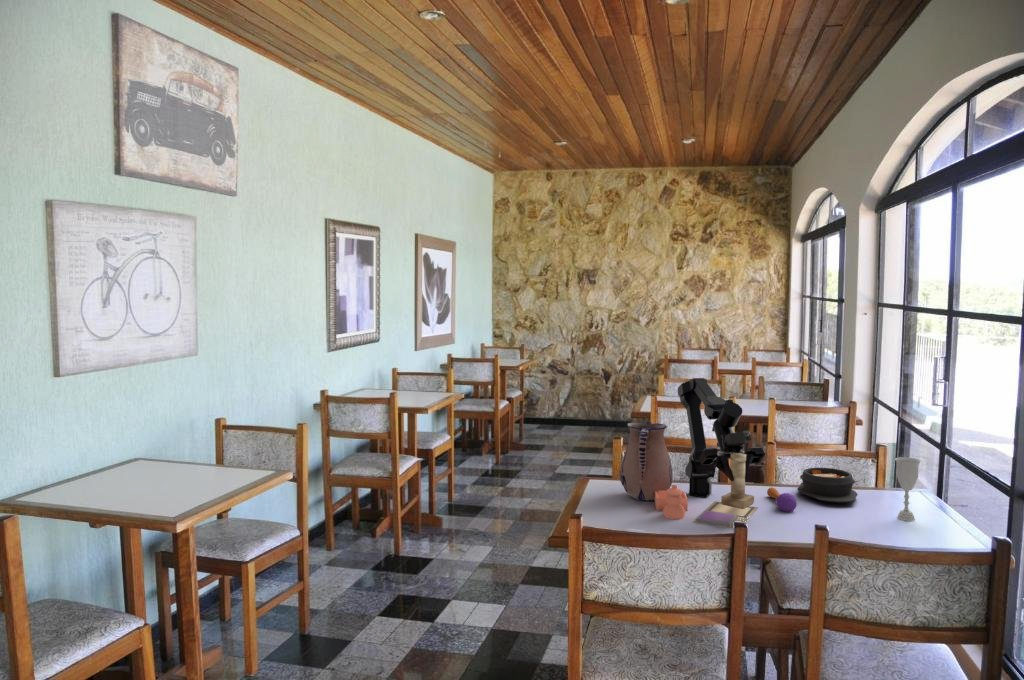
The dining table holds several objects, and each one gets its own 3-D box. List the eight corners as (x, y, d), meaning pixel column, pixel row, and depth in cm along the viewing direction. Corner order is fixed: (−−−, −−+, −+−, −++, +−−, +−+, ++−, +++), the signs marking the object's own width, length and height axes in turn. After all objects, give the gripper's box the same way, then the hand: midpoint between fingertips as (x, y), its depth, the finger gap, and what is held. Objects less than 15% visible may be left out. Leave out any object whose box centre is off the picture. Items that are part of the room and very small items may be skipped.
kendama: (782, 485, 246) (800, 497, 226) (779, 502, 246) (797, 516, 226) (764, 481, 246) (781, 493, 227) (761, 499, 246) (777, 512, 227)
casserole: (788, 486, 259) (788, 463, 258) (842, 487, 257) (843, 464, 256) (809, 507, 234) (809, 481, 233) (870, 508, 232) (870, 482, 232)
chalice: (896, 513, 226) (897, 456, 225) (921, 517, 222) (922, 459, 221) (890, 519, 221) (892, 460, 219) (916, 523, 216) (917, 463, 215)
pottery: (654, 502, 239) (654, 473, 239) (684, 503, 238) (684, 474, 238) (659, 519, 222) (659, 488, 221) (690, 520, 220) (691, 488, 220)
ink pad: (695, 521, 218) (696, 518, 218) (705, 513, 227) (705, 509, 227) (729, 527, 213) (729, 523, 213) (738, 518, 222) (738, 514, 222)
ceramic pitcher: (669, 491, 254) (670, 419, 252) (676, 508, 233) (676, 431, 232) (619, 489, 256) (619, 419, 255) (620, 507, 235) (620, 430, 234)
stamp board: (692, 523, 218) (692, 521, 218) (714, 502, 240) (714, 500, 240) (739, 530, 211) (739, 528, 211) (758, 508, 233) (758, 506, 233)
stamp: (721, 504, 217) (722, 455, 216) (731, 499, 222) (732, 451, 221) (743, 509, 213) (744, 458, 211) (753, 504, 218) (754, 454, 217)
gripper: (703, 421, 219) (717, 467, 209) (763, 420, 221) (779, 465, 210) (694, 442, 227) (706, 486, 217) (751, 440, 229) (766, 484, 219)
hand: (739, 480), depth 216 cm, fingers closed on stamp, 4 cm apart
